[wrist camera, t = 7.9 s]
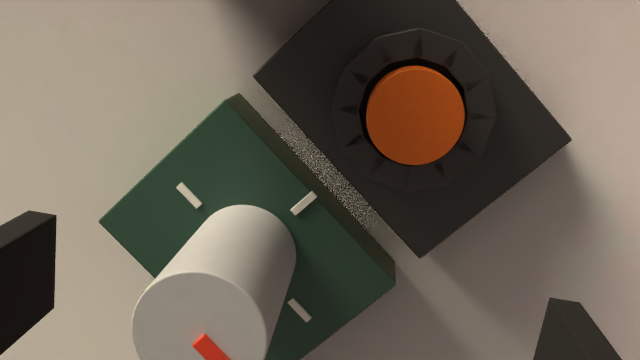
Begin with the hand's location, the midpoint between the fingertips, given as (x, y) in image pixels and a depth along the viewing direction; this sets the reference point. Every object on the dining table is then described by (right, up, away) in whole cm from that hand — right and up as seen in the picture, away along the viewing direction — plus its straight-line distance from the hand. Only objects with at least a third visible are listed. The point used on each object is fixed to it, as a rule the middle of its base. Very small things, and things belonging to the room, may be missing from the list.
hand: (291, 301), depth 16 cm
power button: (+5, +6, +10) cm, 13 cm away
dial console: (-3, 0, +16) cm, 16 cm away
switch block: (+5, +7, +14) cm, 16 cm away
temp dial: (-3, 0, +13) cm, 14 cm away
